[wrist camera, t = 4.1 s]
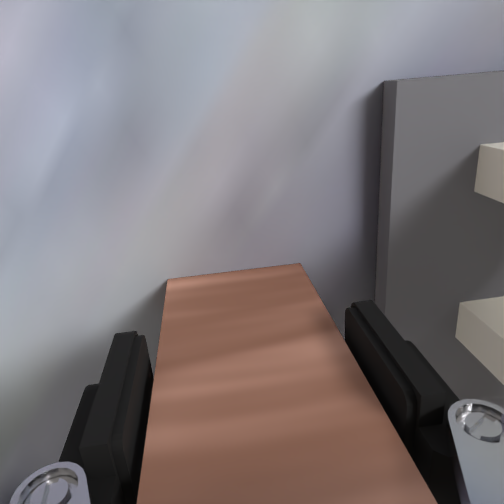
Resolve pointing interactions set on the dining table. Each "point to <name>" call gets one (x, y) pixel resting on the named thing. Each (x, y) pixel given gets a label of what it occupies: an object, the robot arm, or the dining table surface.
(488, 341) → the domino
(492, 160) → the domino
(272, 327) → the domino
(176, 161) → the dining table surface
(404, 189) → the mat
